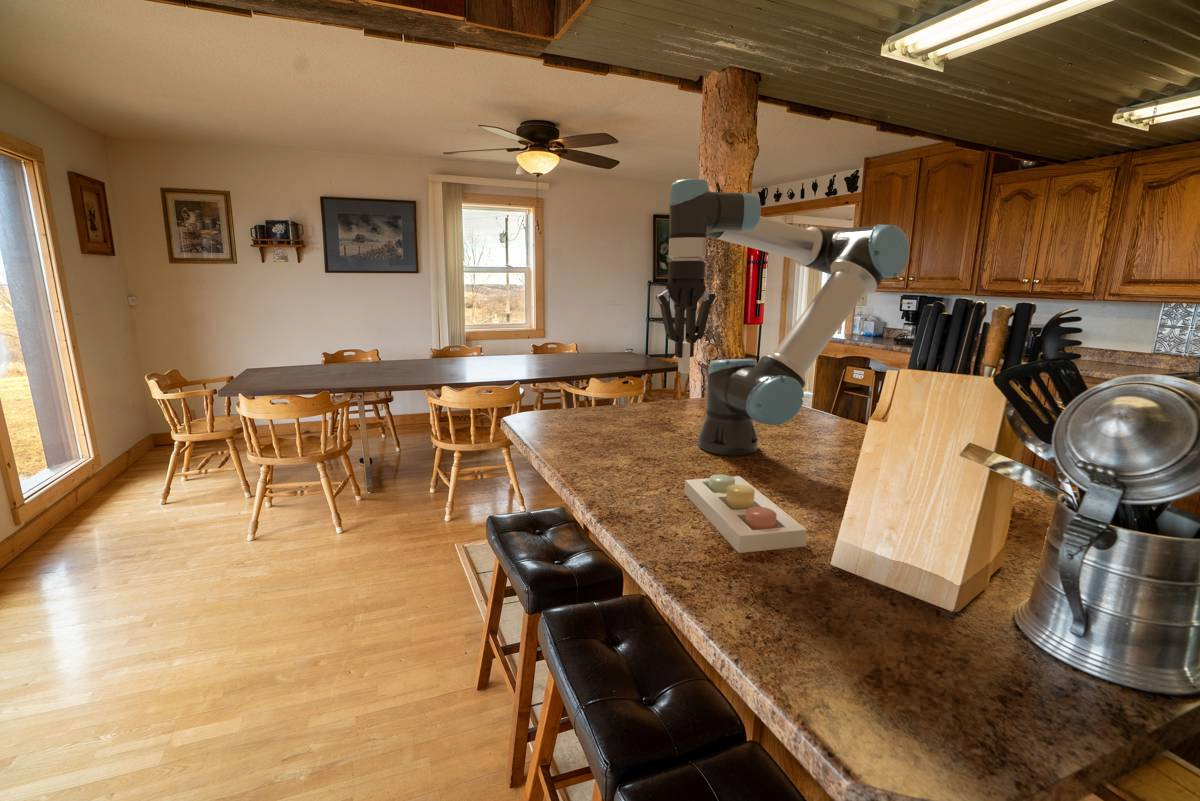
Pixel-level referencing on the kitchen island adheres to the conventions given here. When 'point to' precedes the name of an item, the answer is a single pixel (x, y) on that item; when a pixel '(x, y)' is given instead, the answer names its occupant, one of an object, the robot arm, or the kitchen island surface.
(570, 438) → the kitchen island surface
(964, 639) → the kitchen island surface
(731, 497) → the ochre button
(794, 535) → the panel
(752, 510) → the brick button
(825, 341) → the robot arm
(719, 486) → the sage button
